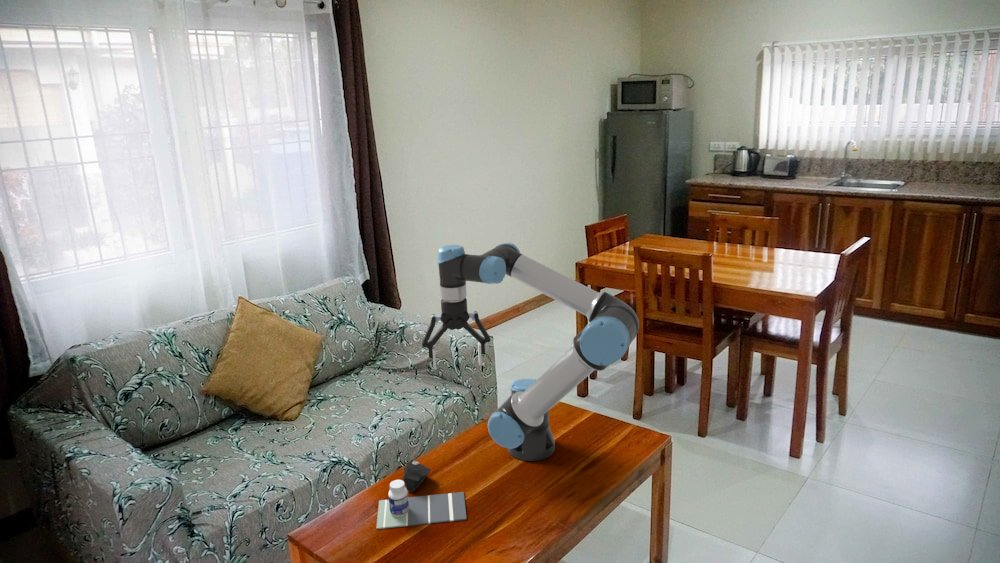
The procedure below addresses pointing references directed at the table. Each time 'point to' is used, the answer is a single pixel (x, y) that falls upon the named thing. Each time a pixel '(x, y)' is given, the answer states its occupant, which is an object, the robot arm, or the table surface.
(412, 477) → the rock
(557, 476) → the table surface
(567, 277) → the robot arm
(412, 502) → the lane
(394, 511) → the pill bottle
